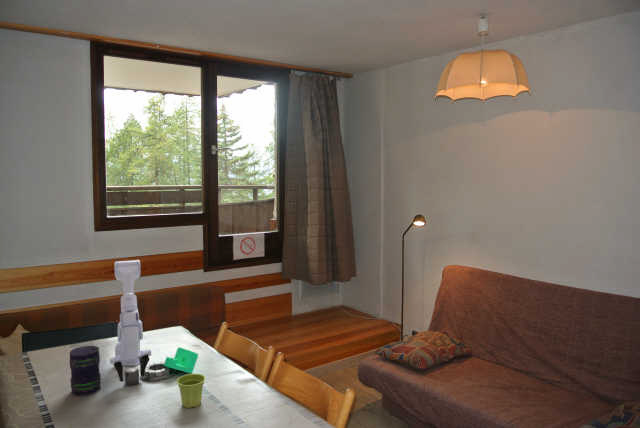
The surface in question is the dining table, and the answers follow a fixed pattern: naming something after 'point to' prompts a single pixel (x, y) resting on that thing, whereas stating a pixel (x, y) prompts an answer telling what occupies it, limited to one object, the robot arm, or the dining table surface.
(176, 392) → the dining table surface
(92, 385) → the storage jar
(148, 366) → the grey knurled ring
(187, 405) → the plant pot
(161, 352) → the dining table surface
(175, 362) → the camera mount
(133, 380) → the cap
